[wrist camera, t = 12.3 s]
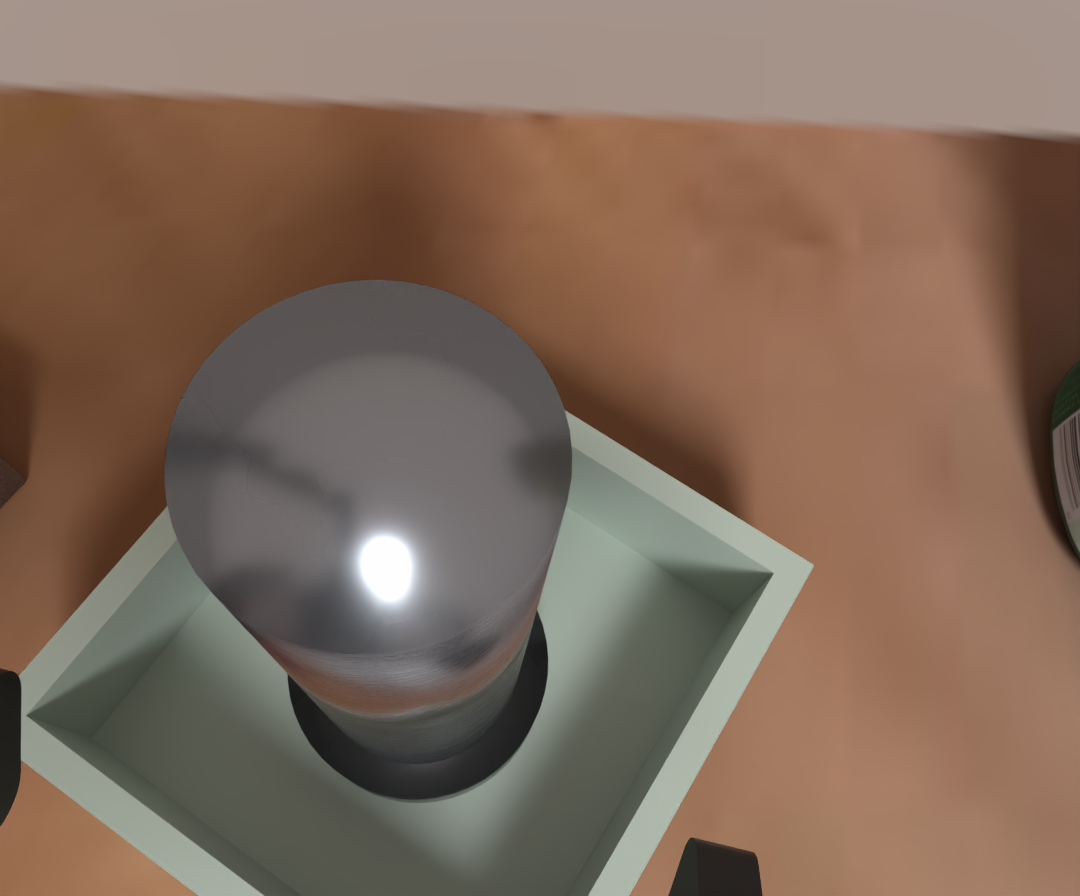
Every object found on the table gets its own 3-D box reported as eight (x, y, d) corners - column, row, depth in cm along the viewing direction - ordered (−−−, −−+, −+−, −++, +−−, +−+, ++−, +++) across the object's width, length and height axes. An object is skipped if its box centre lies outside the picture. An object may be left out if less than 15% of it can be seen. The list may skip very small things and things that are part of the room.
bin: (59, 749, 21) (-25, 725, 18) (376, 368, 25) (361, 283, 22) (493, 1078, 20) (499, 1126, 16) (759, 612, 24) (813, 565, 20)
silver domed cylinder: (268, 768, 21) (6, 641, 9) (345, 538, 23) (213, 184, 11) (509, 830, 21) (568, 785, 9) (564, 594, 23) (674, 297, 11)
